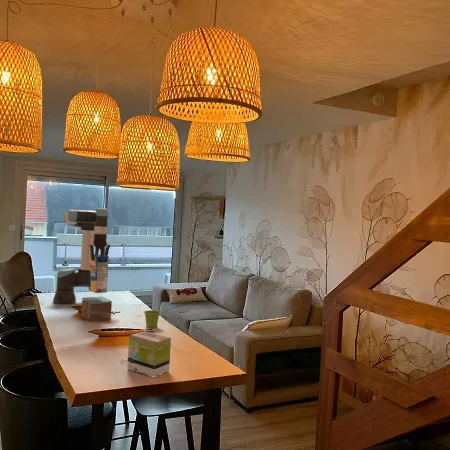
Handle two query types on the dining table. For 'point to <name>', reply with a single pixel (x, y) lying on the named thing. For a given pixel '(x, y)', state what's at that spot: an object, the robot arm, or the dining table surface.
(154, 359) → the tea box
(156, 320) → the plant pot
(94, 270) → the beverage box
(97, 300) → the box lid
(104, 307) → the storage box
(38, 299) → the dining table surface
